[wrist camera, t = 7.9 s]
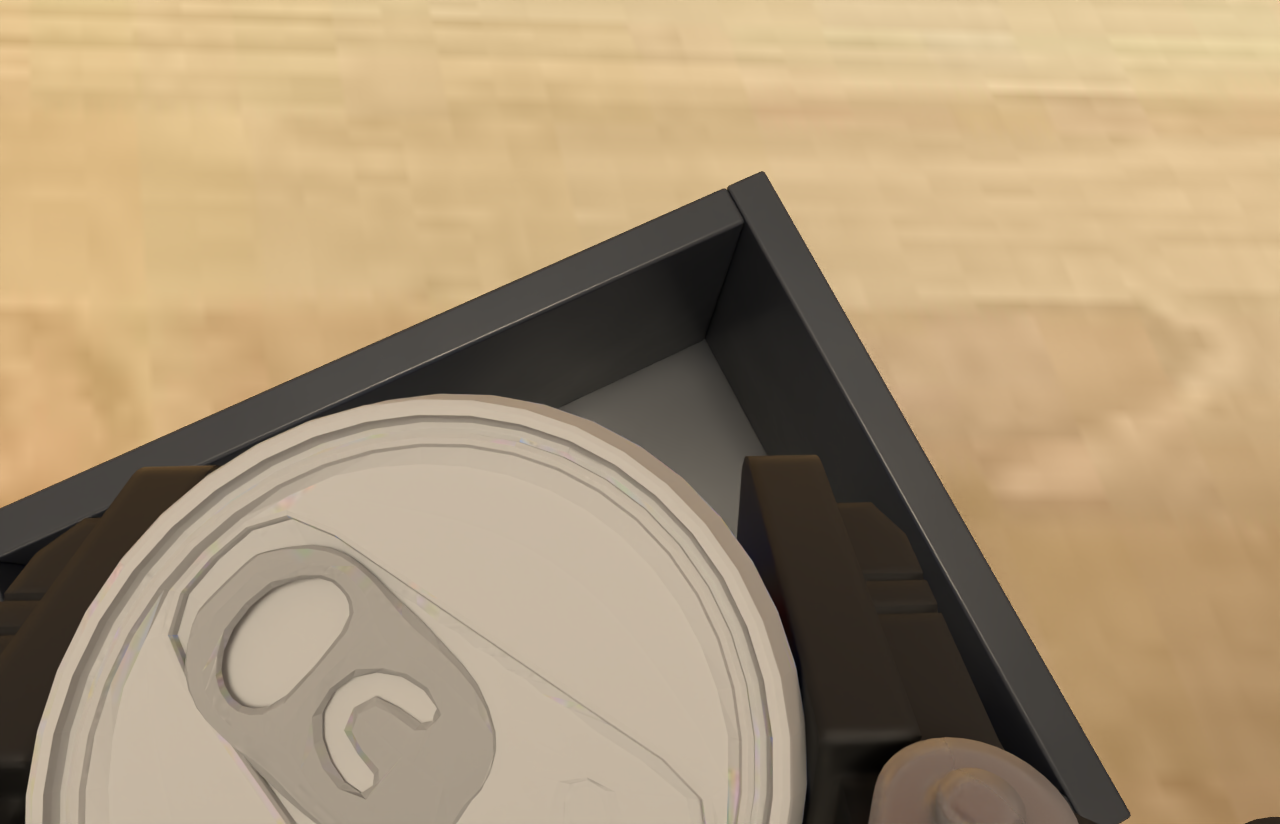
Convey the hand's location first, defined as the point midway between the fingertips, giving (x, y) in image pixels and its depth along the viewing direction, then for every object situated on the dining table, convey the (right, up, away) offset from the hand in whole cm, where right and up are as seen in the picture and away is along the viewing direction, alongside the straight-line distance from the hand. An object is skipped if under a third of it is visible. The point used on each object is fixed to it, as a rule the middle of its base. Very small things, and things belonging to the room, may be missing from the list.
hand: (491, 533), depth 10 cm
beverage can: (0, -4, +11) cm, 11 cm away
